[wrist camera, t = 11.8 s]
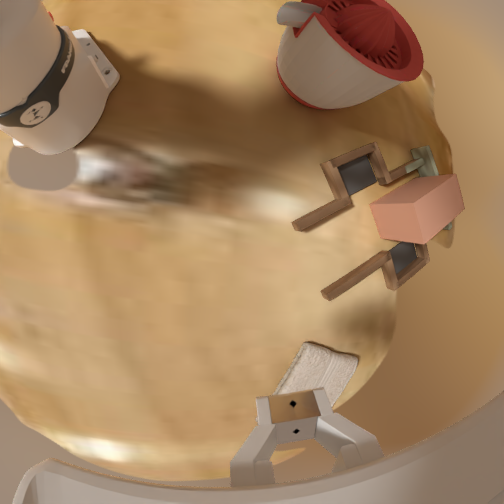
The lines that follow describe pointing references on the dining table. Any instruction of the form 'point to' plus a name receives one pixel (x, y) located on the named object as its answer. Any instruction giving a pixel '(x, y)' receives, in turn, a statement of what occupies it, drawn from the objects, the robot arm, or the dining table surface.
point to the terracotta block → (418, 208)
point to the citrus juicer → (344, 51)
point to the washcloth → (318, 372)
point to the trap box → (343, 185)
